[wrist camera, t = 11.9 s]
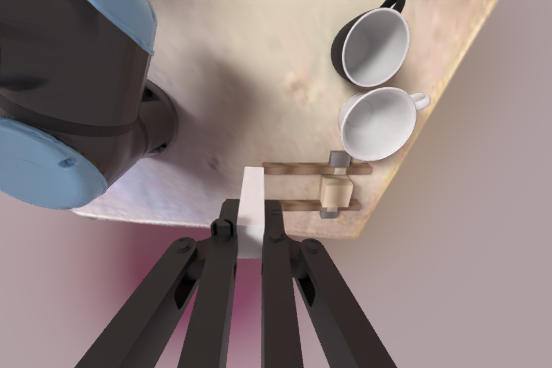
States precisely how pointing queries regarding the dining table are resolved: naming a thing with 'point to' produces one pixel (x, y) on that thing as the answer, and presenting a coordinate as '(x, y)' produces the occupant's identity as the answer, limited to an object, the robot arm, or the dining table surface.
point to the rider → (335, 190)
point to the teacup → (379, 121)
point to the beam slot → (336, 166)
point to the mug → (372, 45)
